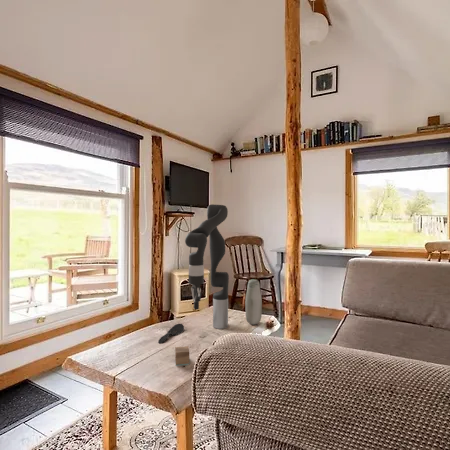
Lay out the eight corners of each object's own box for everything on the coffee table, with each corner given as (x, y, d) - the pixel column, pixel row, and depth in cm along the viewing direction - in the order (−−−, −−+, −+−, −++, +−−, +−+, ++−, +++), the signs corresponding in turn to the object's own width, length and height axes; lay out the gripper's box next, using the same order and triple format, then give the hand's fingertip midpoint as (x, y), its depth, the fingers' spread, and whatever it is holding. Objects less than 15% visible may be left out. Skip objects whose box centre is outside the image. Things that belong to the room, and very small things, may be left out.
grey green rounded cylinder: (245, 321, 204) (245, 277, 204) (261, 321, 203) (261, 278, 203) (245, 326, 194) (245, 280, 194) (261, 326, 193) (262, 280, 193)
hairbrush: (152, 338, 168) (174, 321, 191) (152, 344, 168) (174, 327, 192) (166, 340, 165) (186, 322, 189) (166, 346, 165) (186, 329, 189)
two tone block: (175, 352, 141) (175, 365, 141) (189, 351, 142) (189, 364, 142) (175, 347, 147) (175, 360, 147) (188, 346, 148) (188, 359, 148)
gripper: (207, 275, 150) (207, 312, 151) (200, 271, 163) (200, 304, 163) (191, 276, 148) (191, 313, 148) (186, 272, 160) (186, 306, 161)
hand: (196, 308), depth 156 cm, fingers closed
